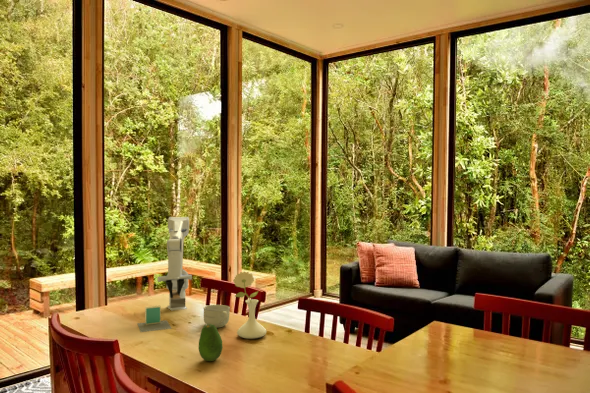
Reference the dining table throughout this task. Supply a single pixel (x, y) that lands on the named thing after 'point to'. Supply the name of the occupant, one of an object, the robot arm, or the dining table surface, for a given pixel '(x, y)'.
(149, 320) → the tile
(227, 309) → the teacup
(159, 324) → the mat
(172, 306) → the hammer
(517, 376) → the dining table surface
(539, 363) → the dining table surface
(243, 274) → the flower in vase
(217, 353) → the fruit
